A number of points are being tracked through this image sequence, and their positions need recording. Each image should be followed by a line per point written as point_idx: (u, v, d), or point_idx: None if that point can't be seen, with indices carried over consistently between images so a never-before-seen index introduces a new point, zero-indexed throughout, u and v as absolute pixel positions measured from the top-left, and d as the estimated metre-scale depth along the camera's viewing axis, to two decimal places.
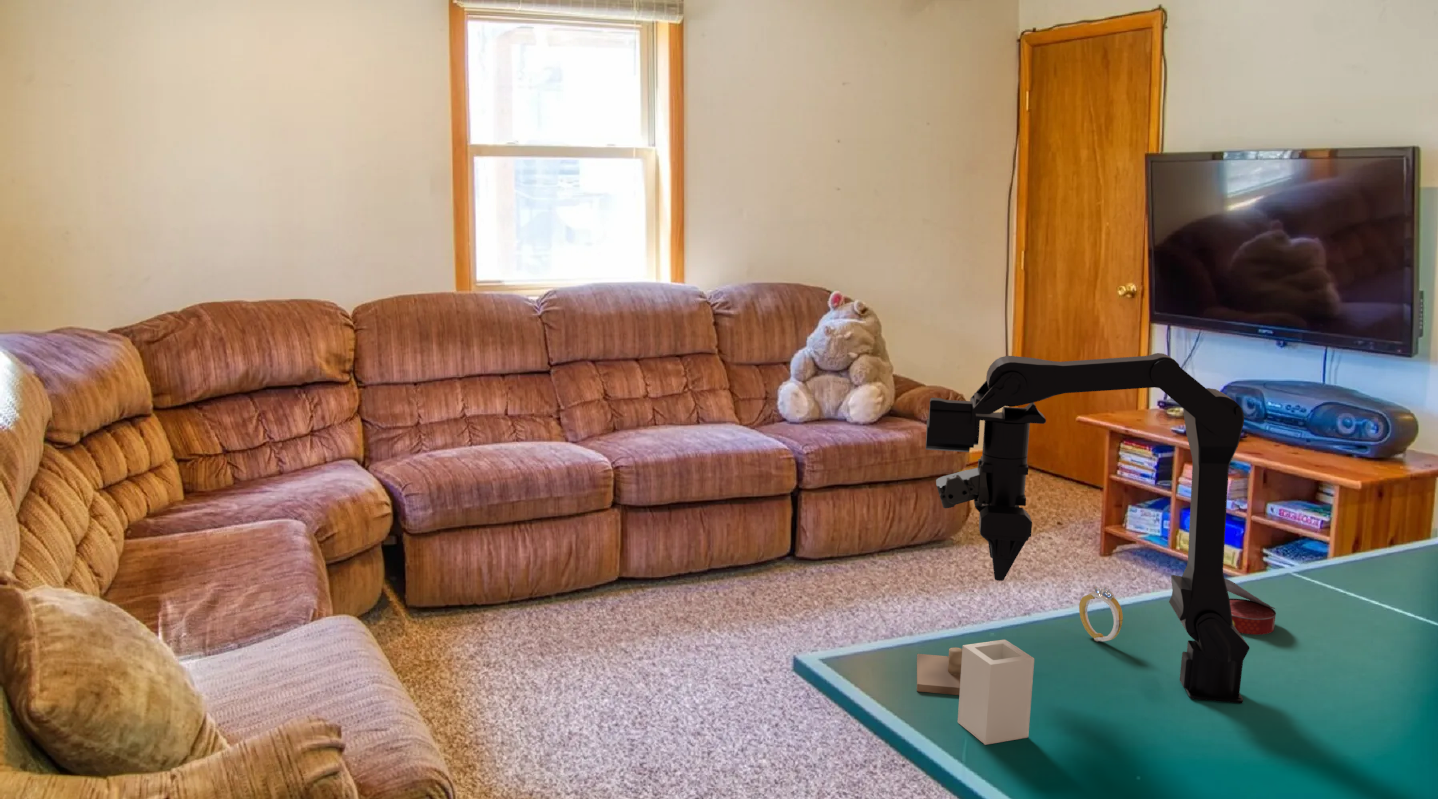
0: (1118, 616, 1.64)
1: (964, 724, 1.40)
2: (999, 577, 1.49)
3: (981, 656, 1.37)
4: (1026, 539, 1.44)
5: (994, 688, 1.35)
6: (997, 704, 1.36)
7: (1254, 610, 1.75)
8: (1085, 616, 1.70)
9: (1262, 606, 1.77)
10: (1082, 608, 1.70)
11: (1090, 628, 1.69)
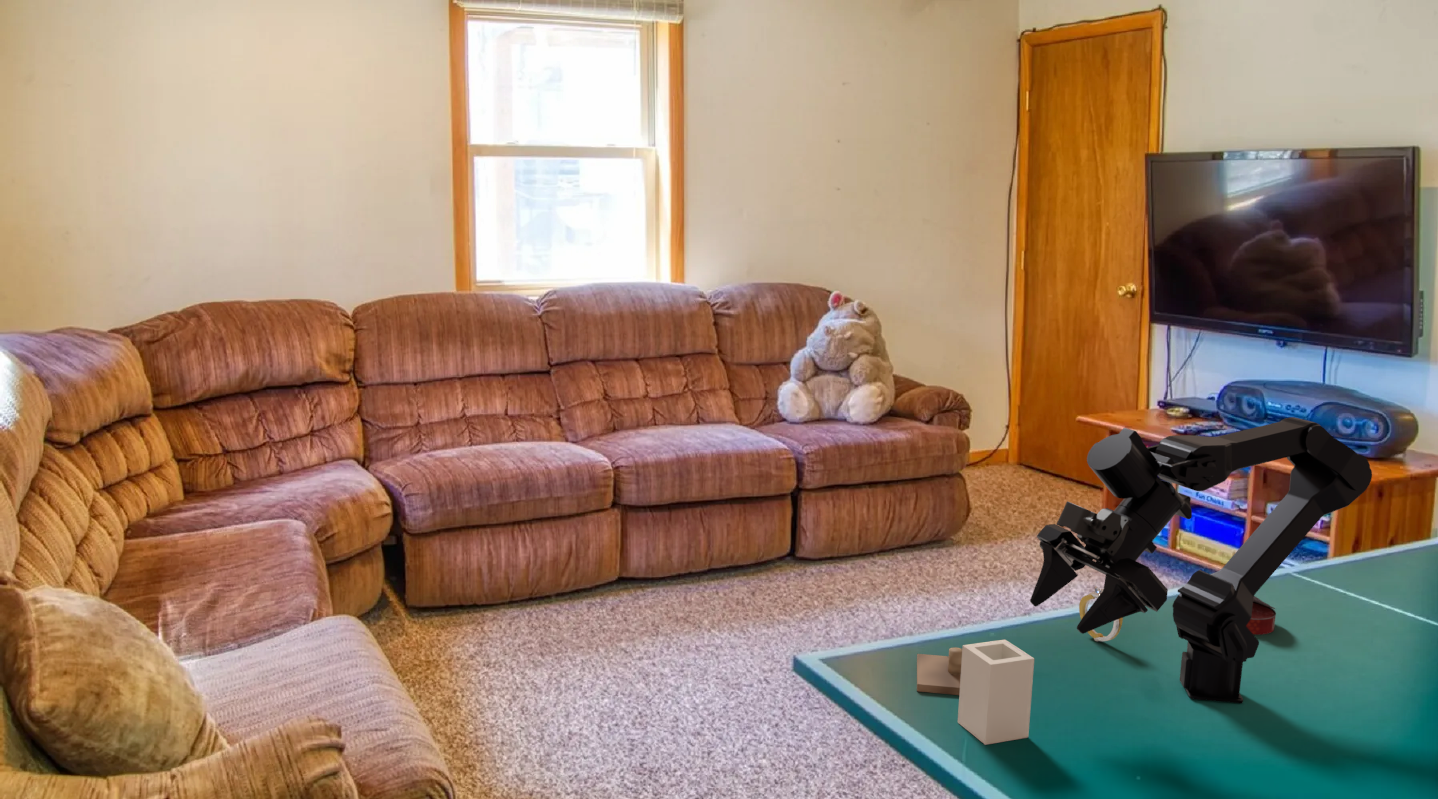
0: None
1: (964, 724, 1.40)
2: (1083, 629, 1.36)
3: (981, 656, 1.37)
4: (1146, 611, 1.35)
5: (994, 688, 1.35)
6: (997, 704, 1.36)
7: (1254, 610, 1.75)
8: None
9: (1262, 606, 1.77)
10: (1082, 608, 1.70)
11: None
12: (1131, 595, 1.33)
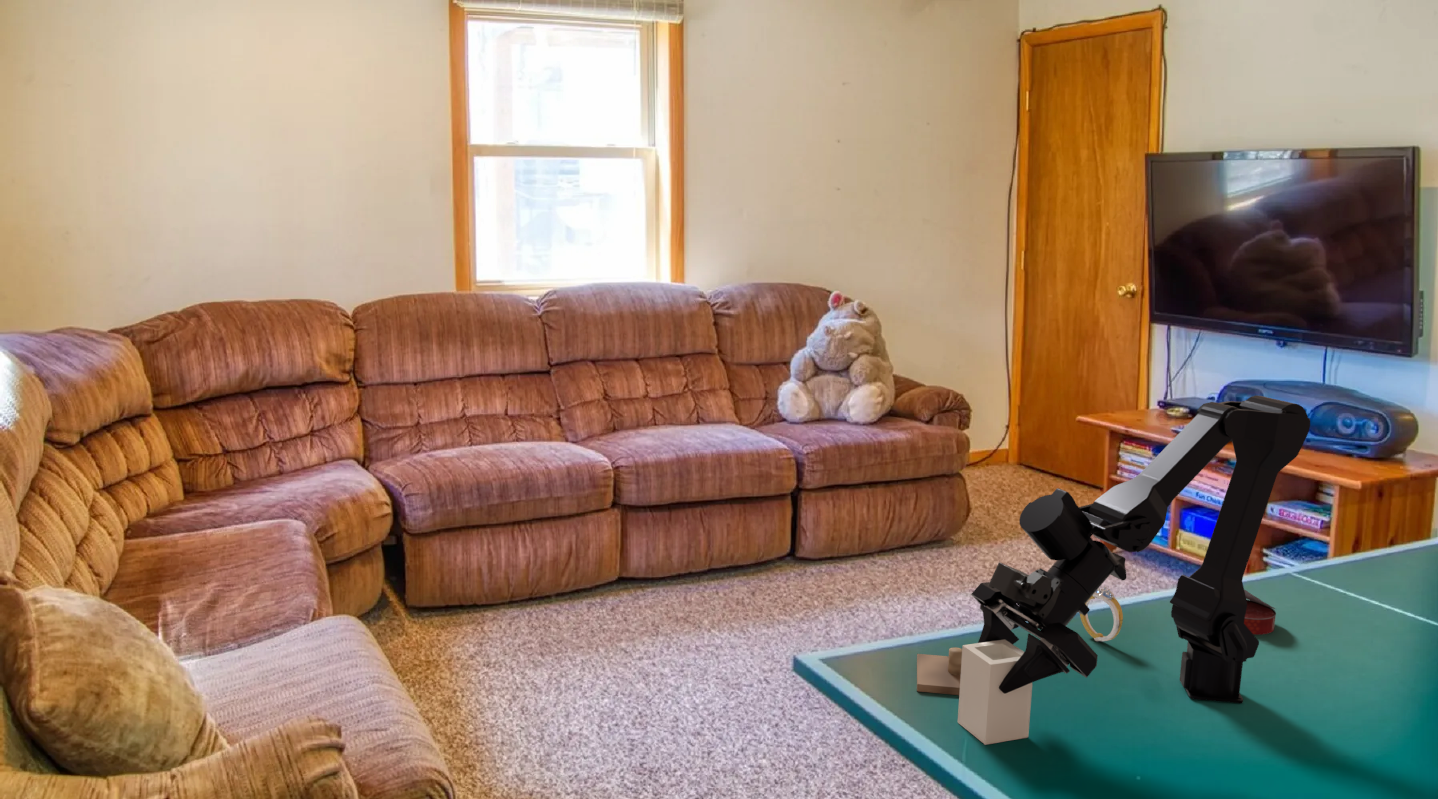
0: (1118, 616, 1.64)
1: (964, 724, 1.40)
2: (1005, 688, 1.35)
3: (981, 656, 1.37)
4: (1068, 672, 1.34)
5: (994, 688, 1.35)
6: (997, 704, 1.36)
7: (1254, 610, 1.75)
8: (1085, 616, 1.70)
9: (1262, 606, 1.77)
10: None
11: (1090, 628, 1.69)
12: (1052, 656, 1.32)
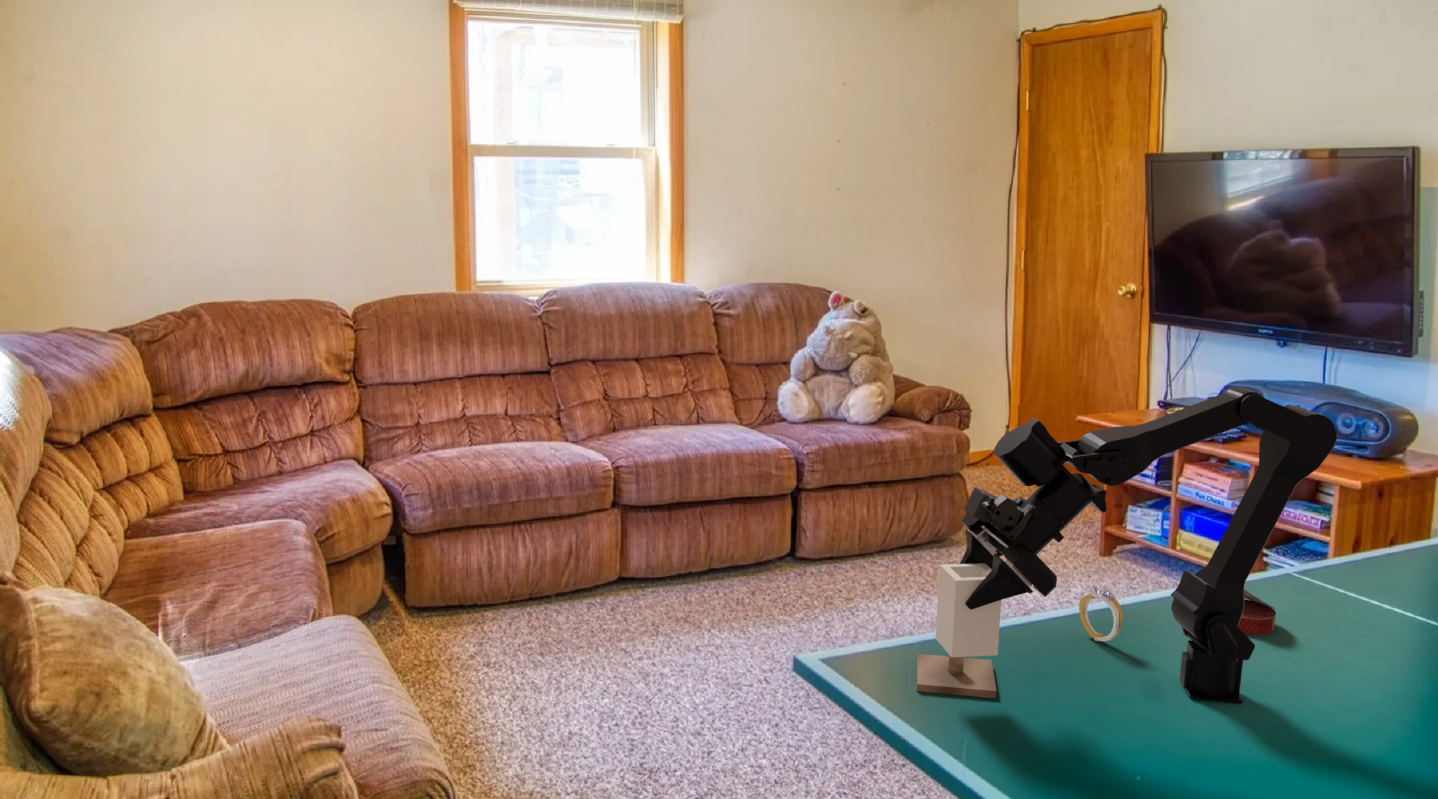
0: (1118, 616, 1.64)
1: (939, 640, 1.48)
2: (971, 605, 1.42)
3: (951, 573, 1.44)
4: (1031, 592, 1.40)
5: (960, 603, 1.43)
6: (964, 620, 1.43)
7: (1254, 610, 1.75)
8: (1085, 616, 1.70)
9: (1262, 606, 1.77)
10: (1082, 608, 1.70)
11: (1090, 628, 1.69)
12: (1013, 575, 1.39)
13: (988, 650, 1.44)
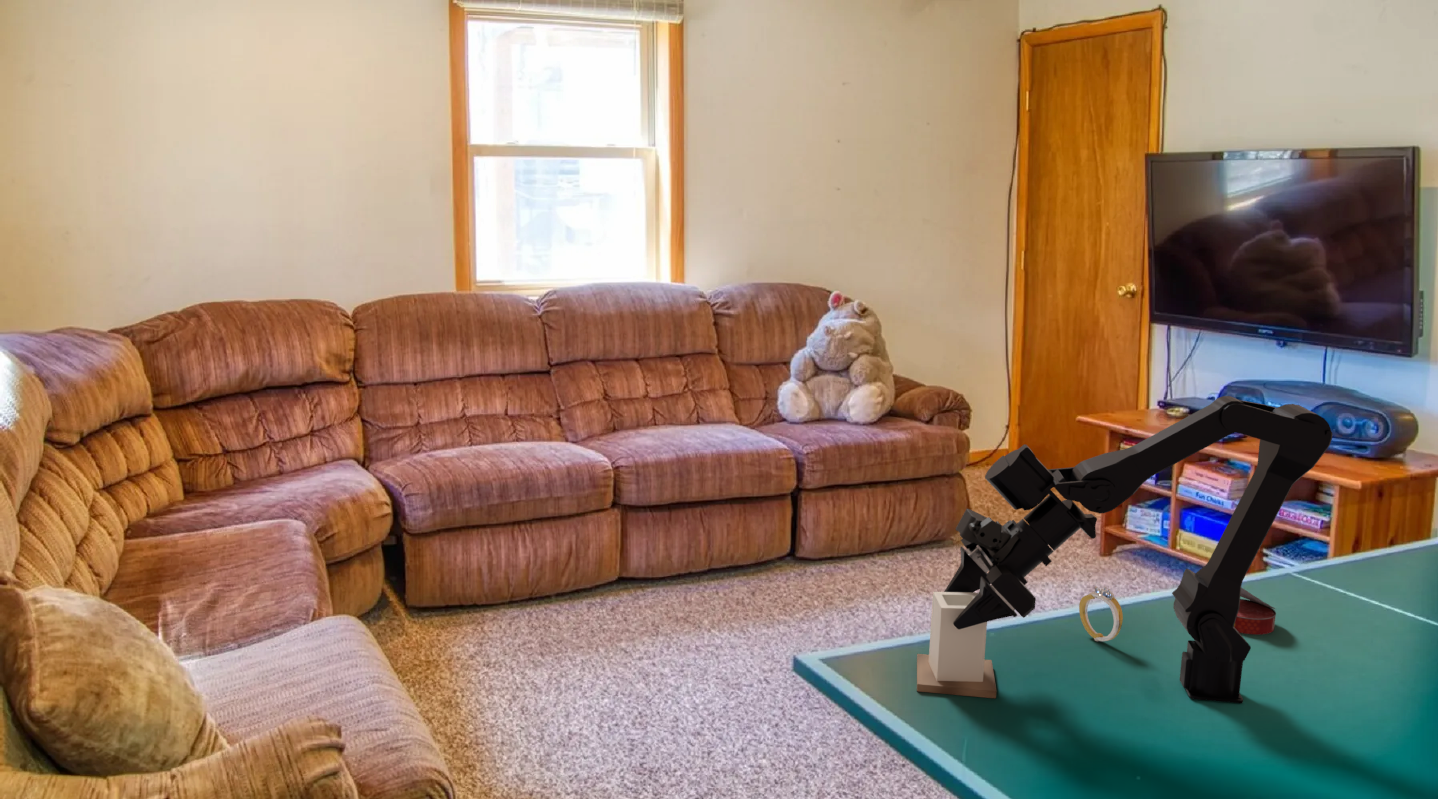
0: (1118, 616, 1.64)
1: (930, 663, 1.55)
2: (958, 625, 1.48)
3: (940, 601, 1.51)
4: (1015, 615, 1.44)
5: (945, 630, 1.50)
6: (949, 645, 1.50)
7: (1254, 610, 1.75)
8: (1085, 616, 1.70)
9: (1262, 606, 1.77)
10: (1082, 608, 1.70)
11: (1090, 628, 1.69)
12: (997, 598, 1.44)
13: (973, 676, 1.51)
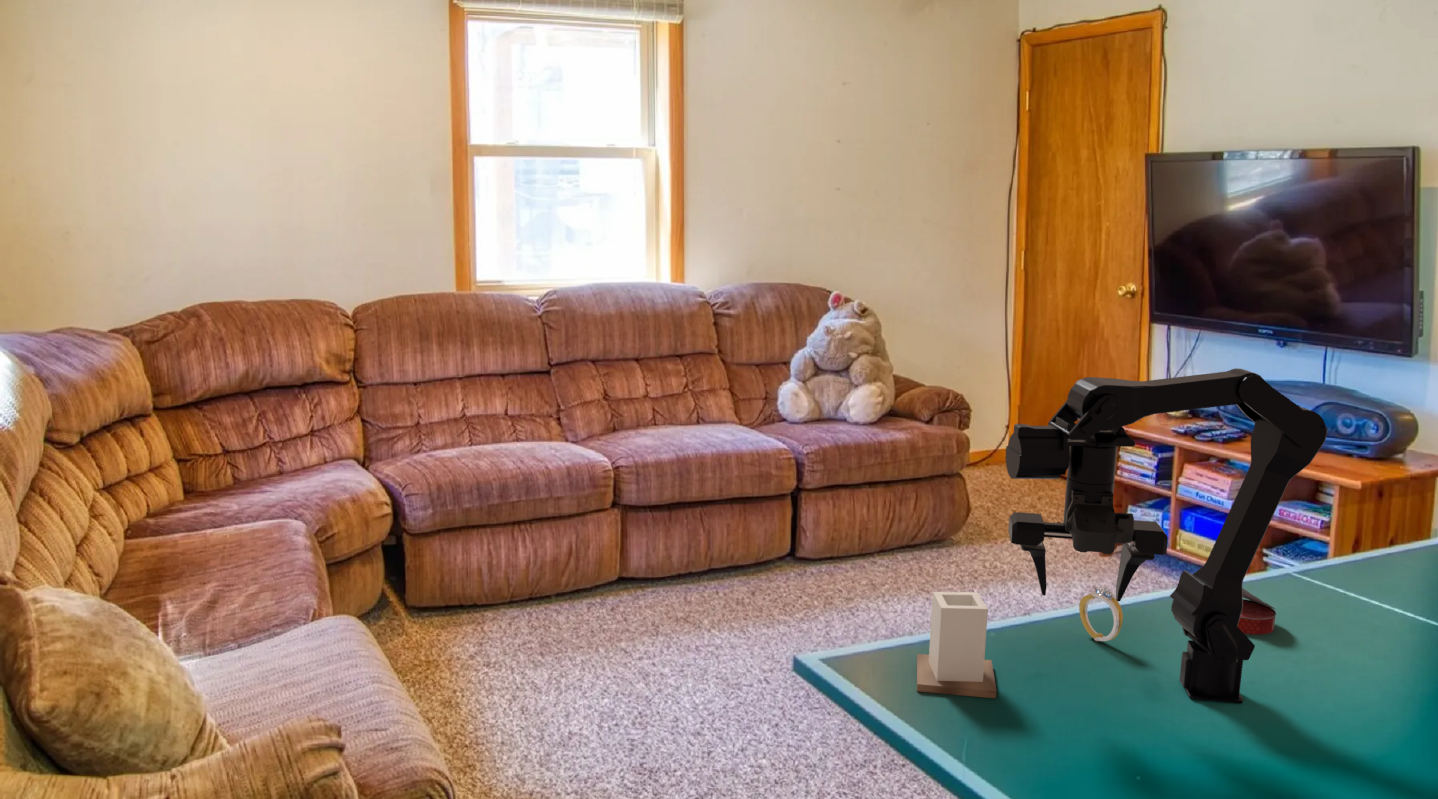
0: (1118, 616, 1.64)
1: (930, 663, 1.55)
2: None
3: (940, 601, 1.51)
4: None
5: (945, 630, 1.50)
6: (949, 645, 1.50)
7: (1254, 610, 1.75)
8: (1085, 616, 1.70)
9: (1262, 606, 1.77)
10: (1082, 608, 1.70)
11: (1090, 628, 1.69)
12: None
13: (973, 676, 1.51)
